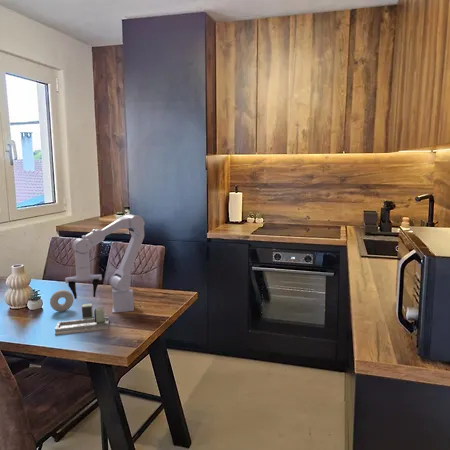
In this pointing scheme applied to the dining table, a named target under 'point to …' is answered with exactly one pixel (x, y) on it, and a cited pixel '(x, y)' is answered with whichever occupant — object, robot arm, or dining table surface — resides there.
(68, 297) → the donut
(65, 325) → the tray
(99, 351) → the dining table surface
